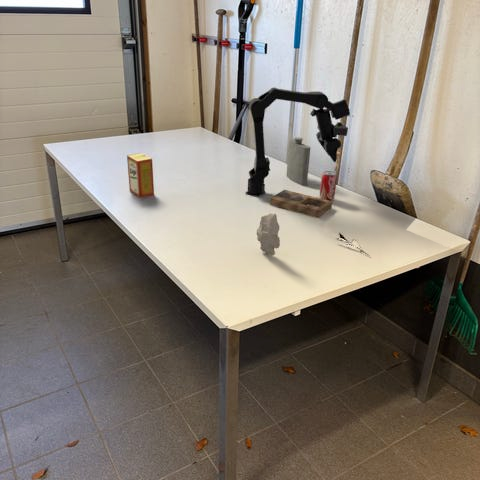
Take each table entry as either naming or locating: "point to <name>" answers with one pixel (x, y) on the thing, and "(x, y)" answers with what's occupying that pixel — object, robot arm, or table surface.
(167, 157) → the table surface
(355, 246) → the toy airplane
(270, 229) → the grey figurine
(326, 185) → the soda can
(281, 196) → the wooden tray
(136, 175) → the baking soda box
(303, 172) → the hip flask
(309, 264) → the table surface
